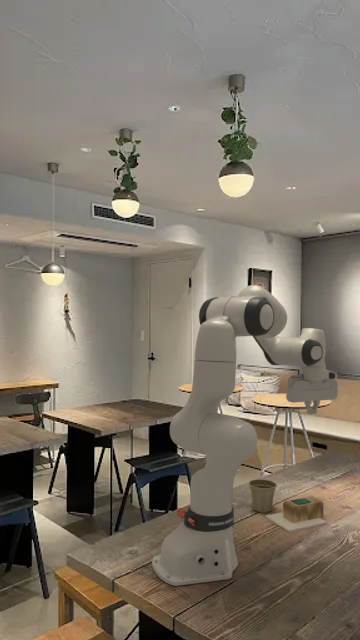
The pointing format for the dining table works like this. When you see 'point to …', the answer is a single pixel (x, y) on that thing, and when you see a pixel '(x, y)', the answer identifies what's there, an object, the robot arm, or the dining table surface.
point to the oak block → (303, 509)
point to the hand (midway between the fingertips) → (312, 413)
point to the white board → (290, 526)
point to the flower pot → (262, 494)
